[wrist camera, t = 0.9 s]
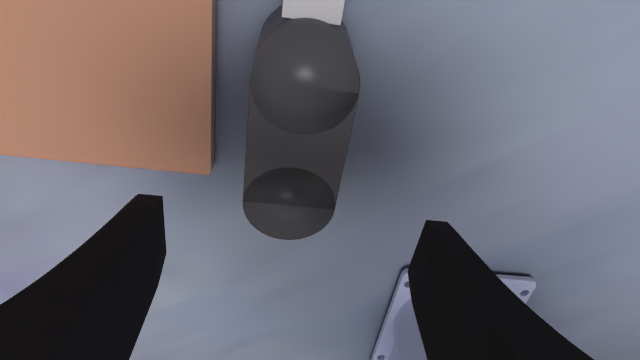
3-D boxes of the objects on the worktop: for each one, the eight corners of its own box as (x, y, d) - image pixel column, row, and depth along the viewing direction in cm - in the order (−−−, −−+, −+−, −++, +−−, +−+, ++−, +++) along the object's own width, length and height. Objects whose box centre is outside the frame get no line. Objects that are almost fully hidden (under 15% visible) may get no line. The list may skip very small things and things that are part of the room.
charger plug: (323, 186, 22) (327, 243, 19) (249, 179, 22) (240, 235, 18) (365, -42, 16) (382, -18, 13) (266, -58, 16) (257, -38, 13)
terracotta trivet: (214, 163, 21) (210, 175, 20) (-40, 137, 20) (-55, 149, 19) (217, -116, 15) (212, -115, 14) (-153, -179, 14) (-182, -182, 13)
